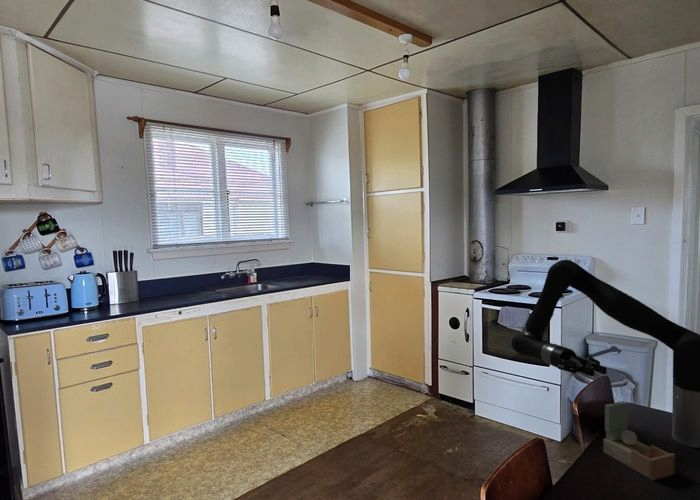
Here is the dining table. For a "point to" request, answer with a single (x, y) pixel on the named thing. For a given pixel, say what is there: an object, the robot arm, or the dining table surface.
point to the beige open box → (624, 450)
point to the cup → (654, 463)
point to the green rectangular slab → (616, 420)
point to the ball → (629, 437)
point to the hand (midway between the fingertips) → (599, 372)
